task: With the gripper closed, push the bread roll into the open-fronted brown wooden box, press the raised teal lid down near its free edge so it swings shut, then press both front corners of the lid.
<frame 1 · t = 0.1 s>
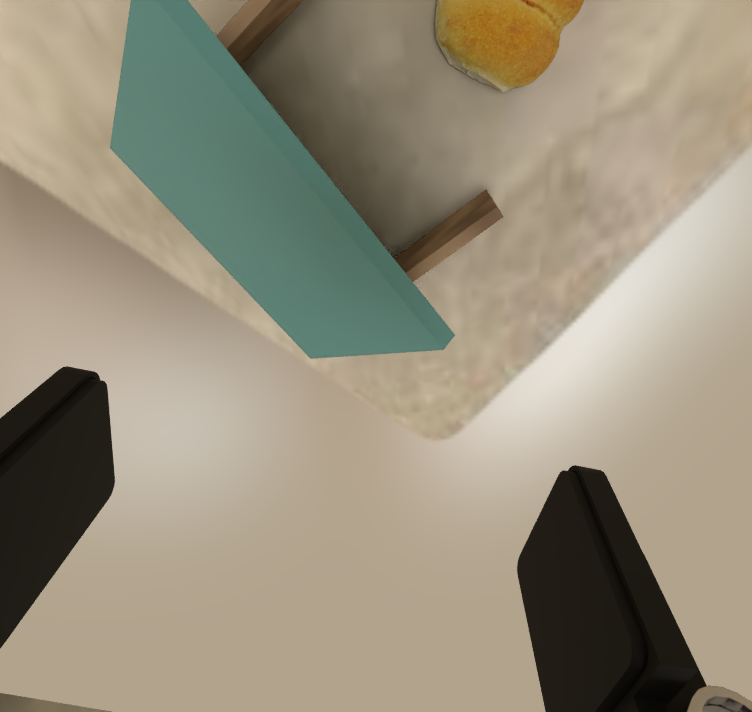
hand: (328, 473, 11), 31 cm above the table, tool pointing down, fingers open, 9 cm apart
brown wooden box: (328, 164, 37), on the table
bread roll: (505, 9, 33), on the table
lid: (260, 229, 28), point 12 cm above the table, hinge at 45.0°
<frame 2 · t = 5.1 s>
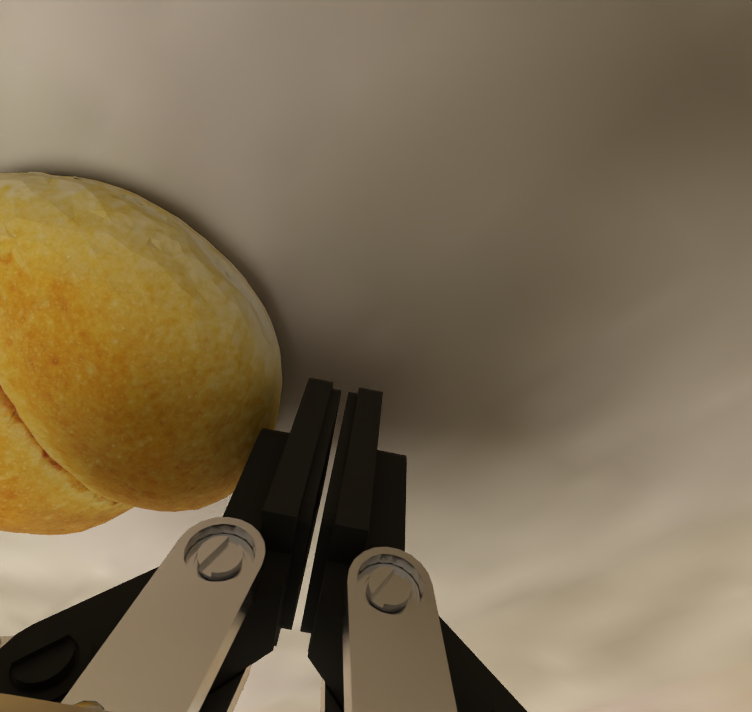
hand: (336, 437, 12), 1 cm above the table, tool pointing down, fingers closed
bread roll: (108, 346, 13), on the table, touching gripper
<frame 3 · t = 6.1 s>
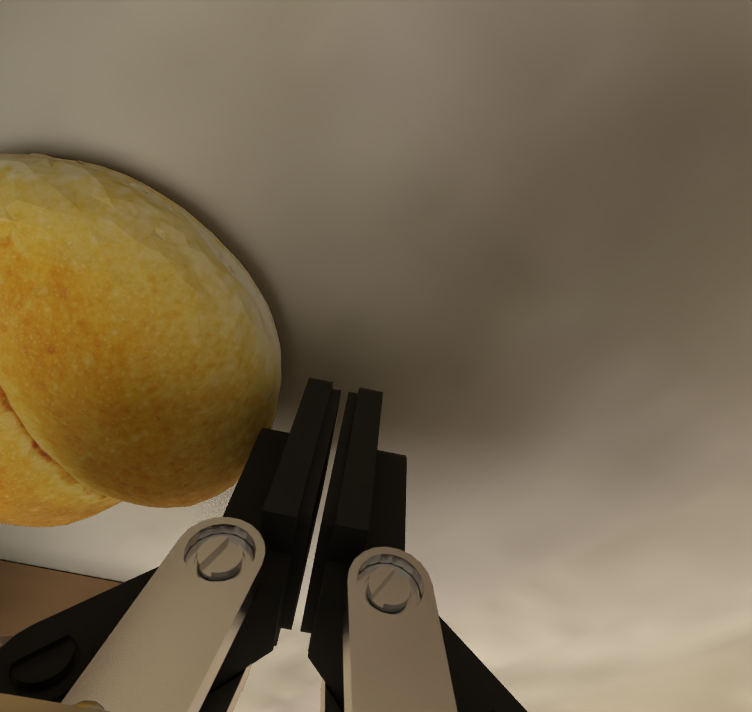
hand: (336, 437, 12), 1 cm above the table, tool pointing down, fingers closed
bread roll: (103, 336, 13), on the table, touching gripper
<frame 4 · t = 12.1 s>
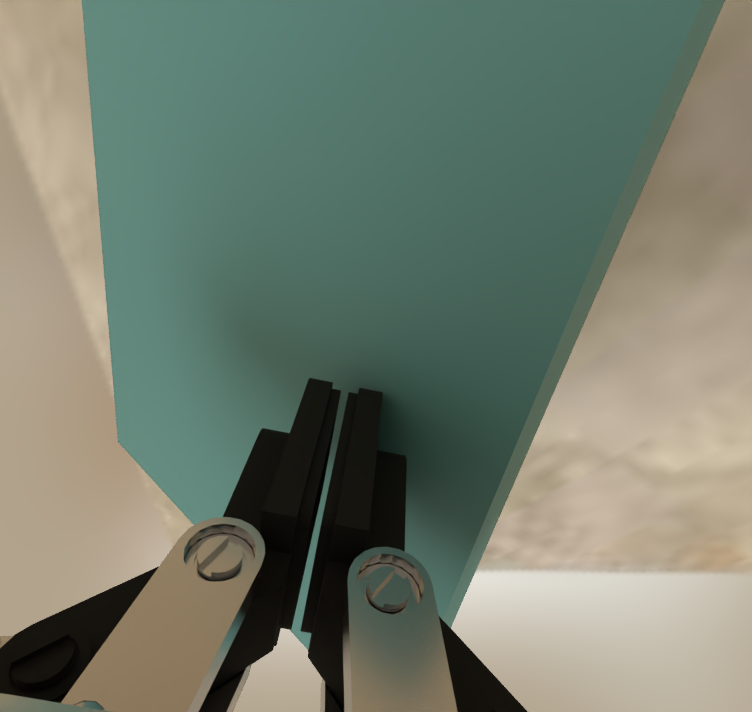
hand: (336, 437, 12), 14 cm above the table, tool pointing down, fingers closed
lid: (254, 333, 14), point 11 cm above the table, hinge at 36.2°, touching gripper
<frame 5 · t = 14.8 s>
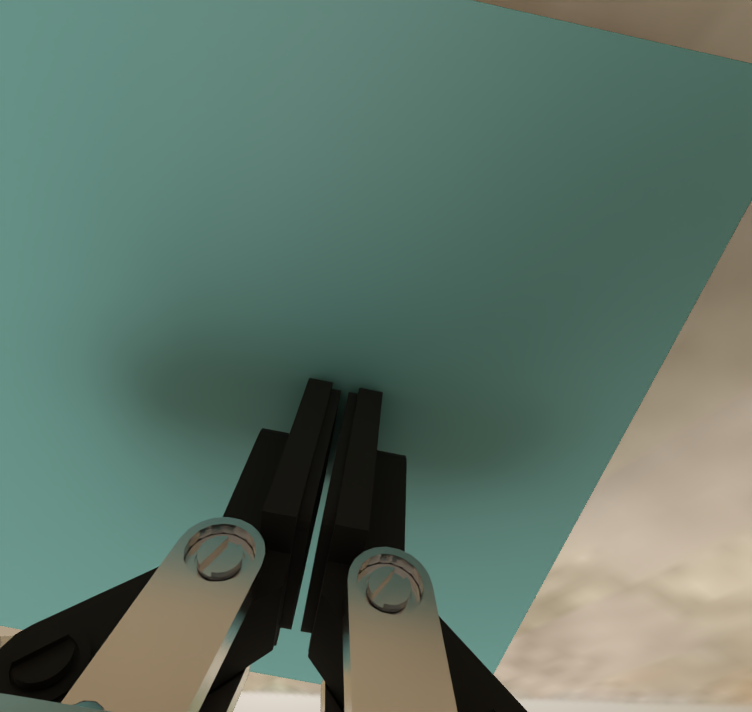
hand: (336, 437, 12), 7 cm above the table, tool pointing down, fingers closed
lid: (257, 434, 12), point 6 cm above the table, hinge at -0.1°, touching gripper
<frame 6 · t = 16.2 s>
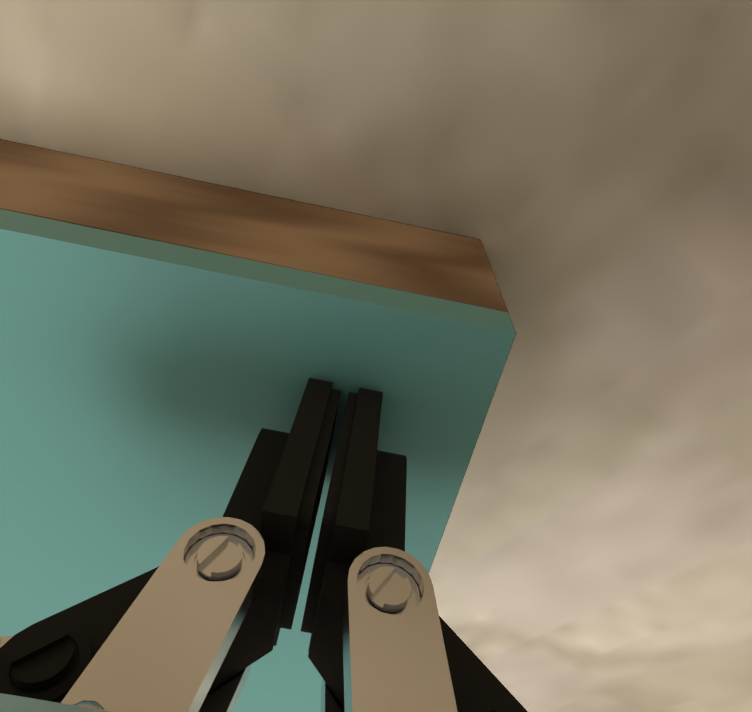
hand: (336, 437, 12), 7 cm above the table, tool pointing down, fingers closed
brown wooden box: (214, 426, 20), on the table
lid: (142, 552, 15), point 6 cm above the table, hinge at -0.3°, touching gripper
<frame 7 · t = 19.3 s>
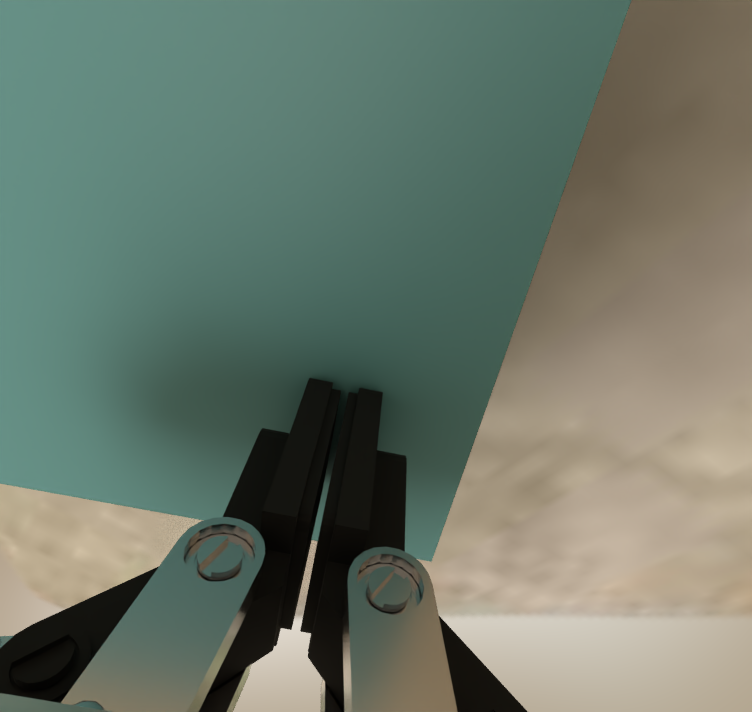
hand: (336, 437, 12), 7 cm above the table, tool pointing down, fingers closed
lid: (115, 114, 9), point 6 cm above the table, hinge at -0.3°
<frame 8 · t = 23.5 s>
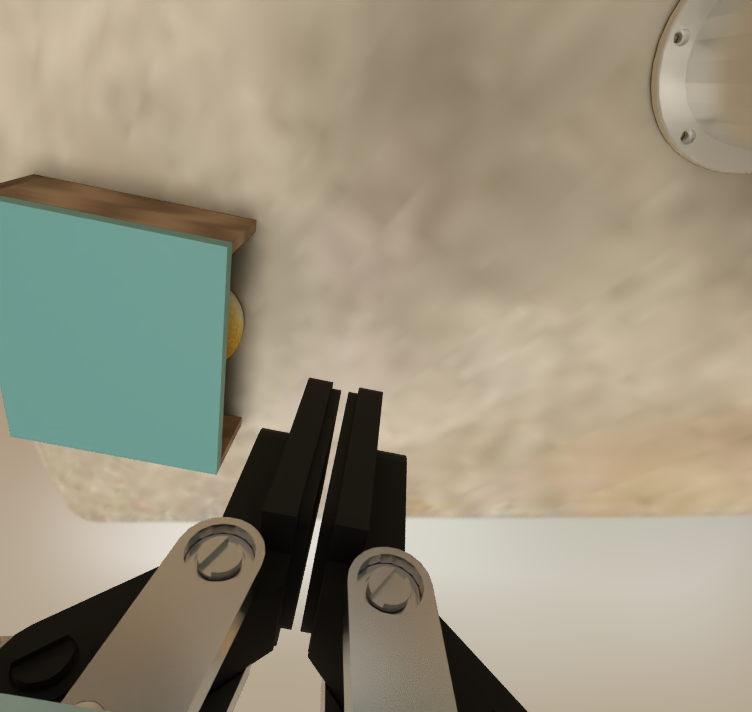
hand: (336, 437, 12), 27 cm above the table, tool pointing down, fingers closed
brown wooden box: (149, 314, 41), on the table
bread roll: (190, 312, 41), on the table
lid: (109, 349, 36), point 6 cm above the table, hinge at -0.3°
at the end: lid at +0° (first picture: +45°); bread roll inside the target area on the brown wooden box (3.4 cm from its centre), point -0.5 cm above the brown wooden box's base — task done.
